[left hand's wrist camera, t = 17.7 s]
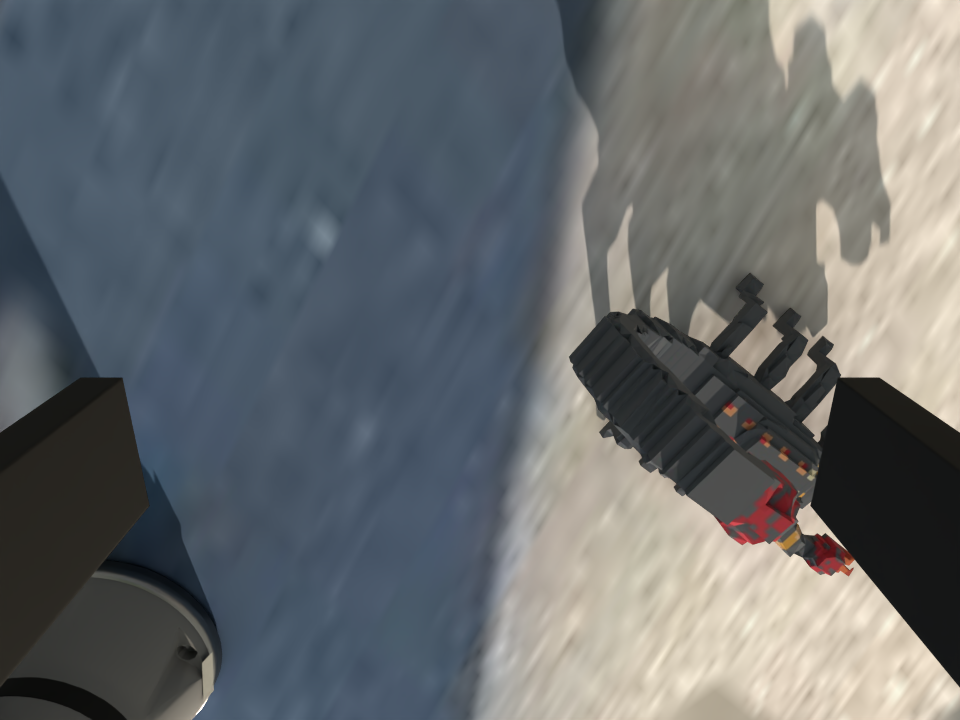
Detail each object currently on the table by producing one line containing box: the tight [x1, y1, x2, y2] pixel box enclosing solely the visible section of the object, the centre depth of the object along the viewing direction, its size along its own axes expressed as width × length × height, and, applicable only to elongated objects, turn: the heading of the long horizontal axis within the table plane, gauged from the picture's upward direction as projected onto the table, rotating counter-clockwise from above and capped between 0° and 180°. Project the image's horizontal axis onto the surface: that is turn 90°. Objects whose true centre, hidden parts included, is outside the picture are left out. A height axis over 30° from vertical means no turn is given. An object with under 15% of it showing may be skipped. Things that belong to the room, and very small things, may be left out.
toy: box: [569, 273, 855, 576], centre depth 33 cm, size 13×27×18 cm, turn 52°
